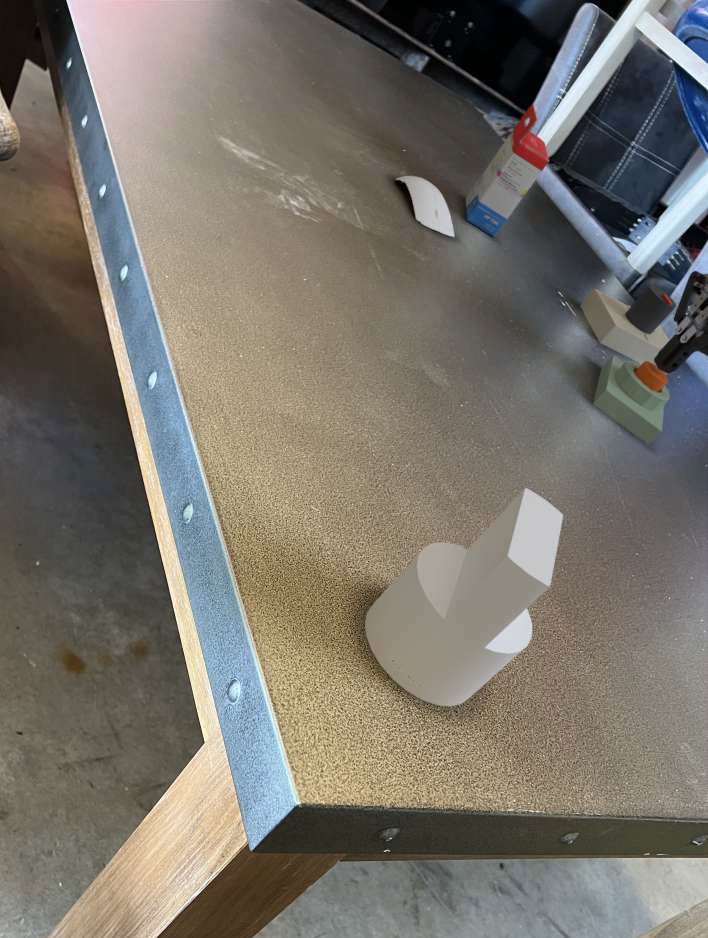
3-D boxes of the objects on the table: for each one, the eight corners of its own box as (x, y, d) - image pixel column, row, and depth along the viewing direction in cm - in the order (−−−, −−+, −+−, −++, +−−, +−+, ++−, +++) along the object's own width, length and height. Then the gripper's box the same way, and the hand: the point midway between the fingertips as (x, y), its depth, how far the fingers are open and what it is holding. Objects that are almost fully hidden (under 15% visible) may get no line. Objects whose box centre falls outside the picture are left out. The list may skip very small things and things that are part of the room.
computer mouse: (417, 223, 120) (428, 207, 119) (388, 173, 127) (398, 157, 126) (458, 241, 124) (469, 225, 122) (427, 191, 131) (437, 176, 129)
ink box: (494, 239, 132) (566, 141, 123) (464, 220, 131) (535, 119, 122) (492, 216, 138) (560, 121, 129) (463, 198, 137) (530, 101, 128)
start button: (634, 368, 114) (644, 356, 113) (658, 386, 114) (669, 375, 113) (632, 378, 112) (643, 367, 110) (657, 397, 112) (668, 386, 111)
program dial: (620, 308, 130) (646, 278, 127) (644, 319, 132) (670, 291, 128) (632, 326, 127) (659, 297, 124) (656, 338, 129) (683, 309, 126)
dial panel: (643, 339, 136) (659, 321, 134) (665, 376, 130) (682, 358, 128) (579, 305, 132) (595, 287, 130) (599, 343, 126) (616, 323, 124)
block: (601, 368, 120) (624, 343, 117) (652, 406, 120) (676, 382, 118) (592, 404, 111) (617, 377, 108) (648, 445, 111) (674, 420, 108)
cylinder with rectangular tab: (463, 730, 62) (592, 619, 54) (349, 651, 62) (463, 527, 54) (484, 649, 69) (601, 540, 61) (382, 577, 69) (487, 458, 61)
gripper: (835, 288, 98) (704, 414, 109) (780, 224, 106) (664, 347, 117) (786, 258, 95) (656, 390, 106) (733, 195, 103) (618, 323, 115)
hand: (661, 367), depth 112 cm, fingers closed
